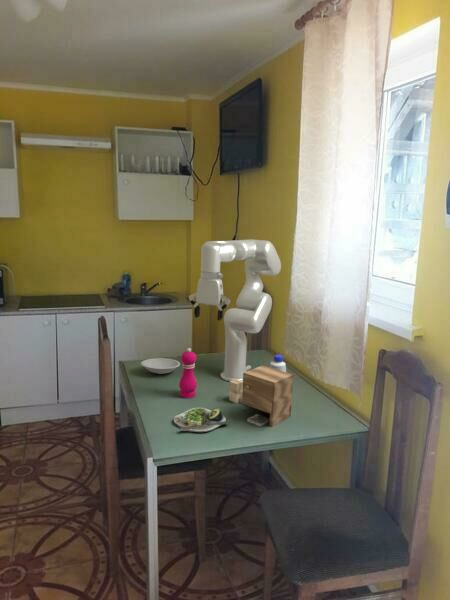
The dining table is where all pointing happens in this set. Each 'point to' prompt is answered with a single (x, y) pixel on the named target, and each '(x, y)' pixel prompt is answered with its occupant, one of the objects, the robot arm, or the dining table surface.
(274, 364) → the bottle
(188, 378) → the pepper mill
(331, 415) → the dining table surface
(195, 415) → the salad plate
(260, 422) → the gray rectangular block
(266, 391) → the wooden box
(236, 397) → the beige mallet
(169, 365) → the dish
